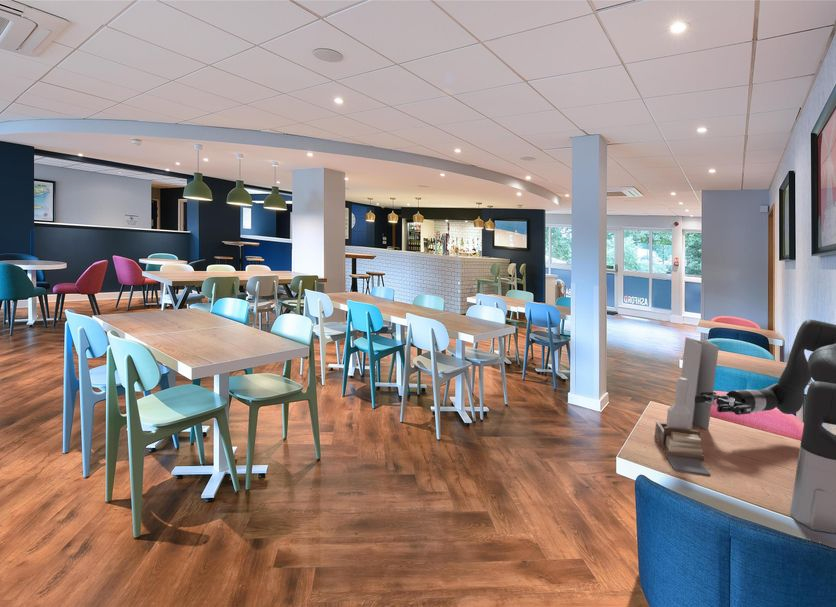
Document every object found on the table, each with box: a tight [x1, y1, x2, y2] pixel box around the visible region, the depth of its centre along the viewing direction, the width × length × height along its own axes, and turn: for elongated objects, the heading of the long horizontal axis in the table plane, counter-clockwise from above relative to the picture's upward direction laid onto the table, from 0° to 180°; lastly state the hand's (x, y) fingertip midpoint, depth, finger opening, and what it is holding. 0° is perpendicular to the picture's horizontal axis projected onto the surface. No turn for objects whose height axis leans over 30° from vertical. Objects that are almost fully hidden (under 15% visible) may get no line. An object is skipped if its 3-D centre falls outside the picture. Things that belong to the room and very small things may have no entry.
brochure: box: [680, 336, 720, 431], centre depth 164 cm, size 14×6×30 cm, turn 168°
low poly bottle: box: [666, 377, 691, 429], centre depth 145 cm, size 6×6×22 cm
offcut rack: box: [654, 421, 706, 462], centre depth 143 cm, size 15×10×7 cm, turn 166°
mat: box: [665, 454, 711, 477], centre depth 132 cm, size 9×9×1 cm
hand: (706, 404), depth 147 cm, fingers open, 8 cm apart
